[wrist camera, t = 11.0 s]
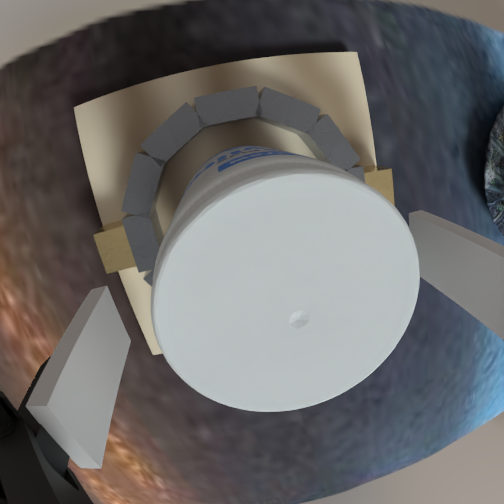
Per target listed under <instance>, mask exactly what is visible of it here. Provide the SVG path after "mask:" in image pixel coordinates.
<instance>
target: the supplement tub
mask: <svg viewBox="0 0 504 504" xmlns="http://www.w3.org/2000/svg"><path fill="white" fill-rule="evenodd" d="M419 279H420V271H419V259H418V253H417V249H416V245H415V242H414V239H413V236H412V234H411V232H410V229H409V227H408V225H407V223H406V222H405V220H404V218H403V217H402V216H401V214H400V213H399V211H398V210H397V209H396V208H395V206H394V205H393V204H392V203H391V202H390V201H389V200H388V199H386V198H385V197H384V196H383V195H382V194H381V193H380V192H378V191H377V190H375V189H374V188H373V187H371V186H370V185H368V184H366V183H364V182H363V181H361V180H360V179H358V178H357V177H355V176H354V175H352V174H350V173H349V172H347V171H345V170H343V169H342V168H339V167H337V166H335V165H332V164H330V163H327V162H324V161H320V160H317V159H314V158H311V157H307V156H303V155H299V154H295V153H290V152H286V151H282V150H277V149H272V148H267V147H262V146H249V145H248V146H238V147H233V148H230V149H227V150H224V151H222V152H220V153H218V154H216V155H214V156H213V157H211V158H210V159H209V160H207V161H206V162H205V163H204V164H203V165H202V166H201V167H200V168H199V169H198V170H197V172H196V173H195V174H194V176H193V177H192V179H191V180H190V182H189V184H188V186H187V188H186V190H185V192H184V194H183V197H182V199H181V201H180V203H179V205H178V207H177V209H176V212H175V214H174V216H173V218H172V220H171V222H170V224H169V227H168V229H167V231H166V234H165V236H164V238H163V241H162V243H161V246H160V248H159V251H158V255H157V258H156V262H155V267H154V273H153V284H152V290H151V320H152V326H153V330H154V334H155V337H156V340H157V342H158V345H159V347H160V349H161V351H162V353H163V355H164V357H165V358H166V360H167V362H168V363H169V365H170V366H171V367H172V369H173V370H174V371H175V372H176V373H177V374H178V375H179V376H180V377H181V378H182V379H183V380H184V381H185V382H186V383H187V384H188V385H190V386H191V387H192V388H193V389H195V390H196V391H198V392H199V393H201V394H202V395H204V396H206V397H208V398H210V399H212V400H214V401H216V402H219V403H221V404H224V405H227V406H231V407H235V408H239V409H244V410H250V411H260V412H278V411H288V410H295V409H300V408H304V407H308V406H312V405H315V404H318V403H321V402H324V401H326V400H329V399H331V398H333V397H335V396H337V395H339V394H341V393H343V392H345V391H347V390H349V389H350V388H352V387H353V386H355V385H356V384H358V383H359V382H361V381H362V380H363V379H365V378H366V377H367V376H368V375H370V374H371V373H372V372H373V371H374V370H375V369H376V368H377V367H378V366H379V365H380V364H381V363H382V362H383V361H384V360H385V359H386V358H387V357H388V355H389V354H390V353H391V352H392V351H393V349H394V348H395V346H396V345H397V343H398V342H399V340H400V339H401V337H402V335H403V334H404V332H405V330H406V328H407V326H408V324H409V321H410V319H411V317H412V314H413V311H414V308H415V304H416V300H417V296H418V290H419Z"/></svg>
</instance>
